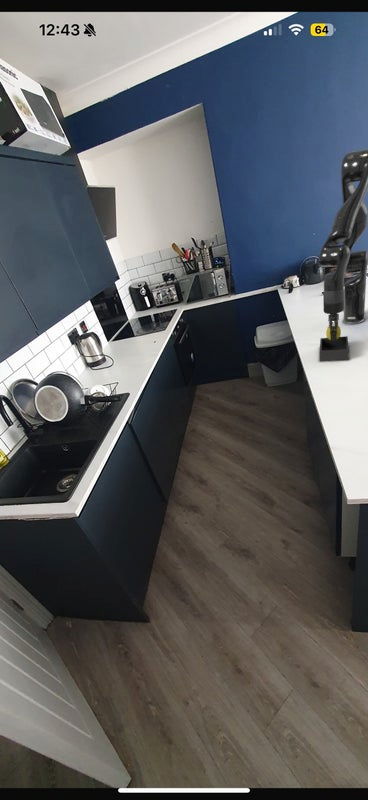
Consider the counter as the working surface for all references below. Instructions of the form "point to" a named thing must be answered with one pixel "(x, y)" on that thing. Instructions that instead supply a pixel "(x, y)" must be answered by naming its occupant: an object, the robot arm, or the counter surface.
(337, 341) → the tote
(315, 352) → the counter surface
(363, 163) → the robot arm
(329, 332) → the lemon
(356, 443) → the counter surface
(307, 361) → the counter surface
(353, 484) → the counter surface
